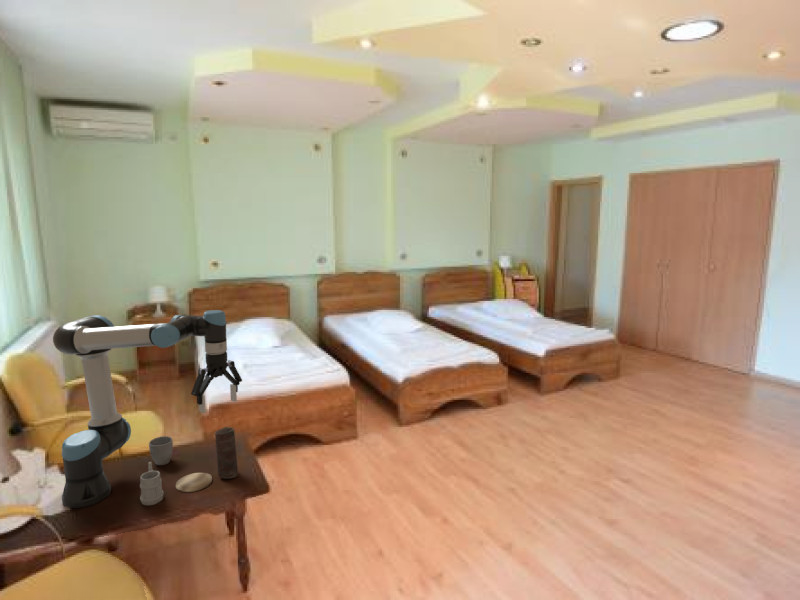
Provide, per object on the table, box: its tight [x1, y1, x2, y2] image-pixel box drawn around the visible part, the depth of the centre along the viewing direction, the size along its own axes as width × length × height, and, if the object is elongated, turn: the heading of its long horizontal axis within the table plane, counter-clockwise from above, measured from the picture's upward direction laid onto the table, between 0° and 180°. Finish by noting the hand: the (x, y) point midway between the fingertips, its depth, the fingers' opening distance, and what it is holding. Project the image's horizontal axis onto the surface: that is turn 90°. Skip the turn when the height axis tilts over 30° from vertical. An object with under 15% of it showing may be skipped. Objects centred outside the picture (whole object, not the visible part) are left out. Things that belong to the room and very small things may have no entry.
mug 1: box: [148, 435, 174, 466], centre depth 202 cm, size 12×9×10 cm
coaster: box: [175, 472, 213, 493], centre depth 186 cm, size 13×13×1 cm
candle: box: [214, 426, 239, 479], centre depth 189 cm, size 8×7×20 cm
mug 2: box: [139, 461, 165, 506], centre depth 176 cm, size 8×12×12 cm, turn 27°
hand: (218, 406), depth 181 cm, fingers open, 13 cm apart
